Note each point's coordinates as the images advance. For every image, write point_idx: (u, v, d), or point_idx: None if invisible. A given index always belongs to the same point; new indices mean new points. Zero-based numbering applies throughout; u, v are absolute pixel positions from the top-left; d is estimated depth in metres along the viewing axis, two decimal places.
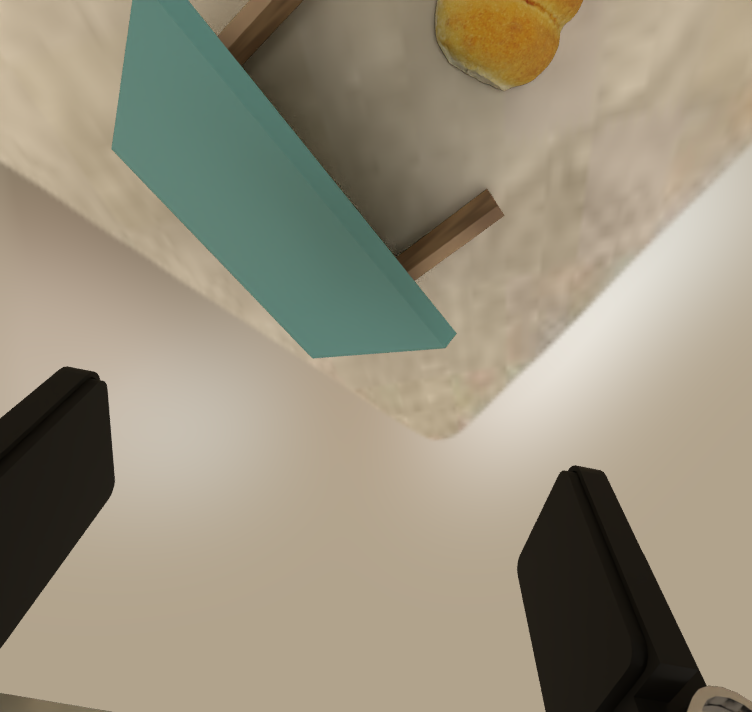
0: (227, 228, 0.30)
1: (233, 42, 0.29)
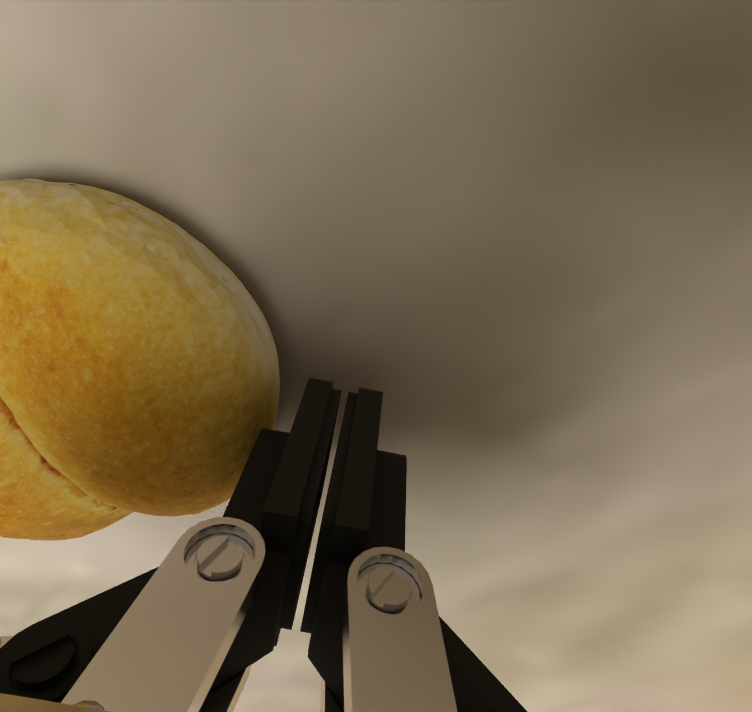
0: None
1: None
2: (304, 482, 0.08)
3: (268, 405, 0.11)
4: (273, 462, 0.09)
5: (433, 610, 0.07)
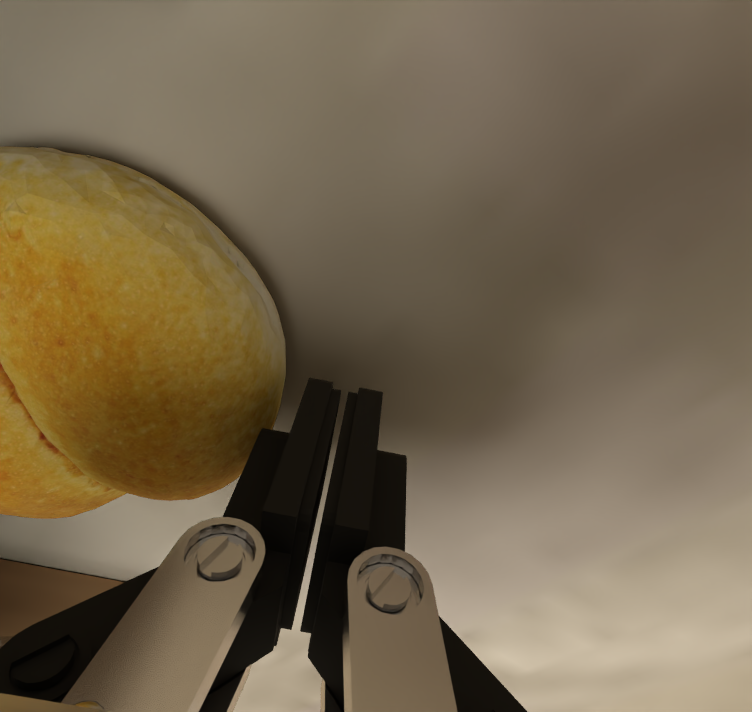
0: None
1: None
2: (304, 482, 0.08)
3: (273, 394, 0.11)
4: (274, 462, 0.09)
5: (433, 610, 0.07)
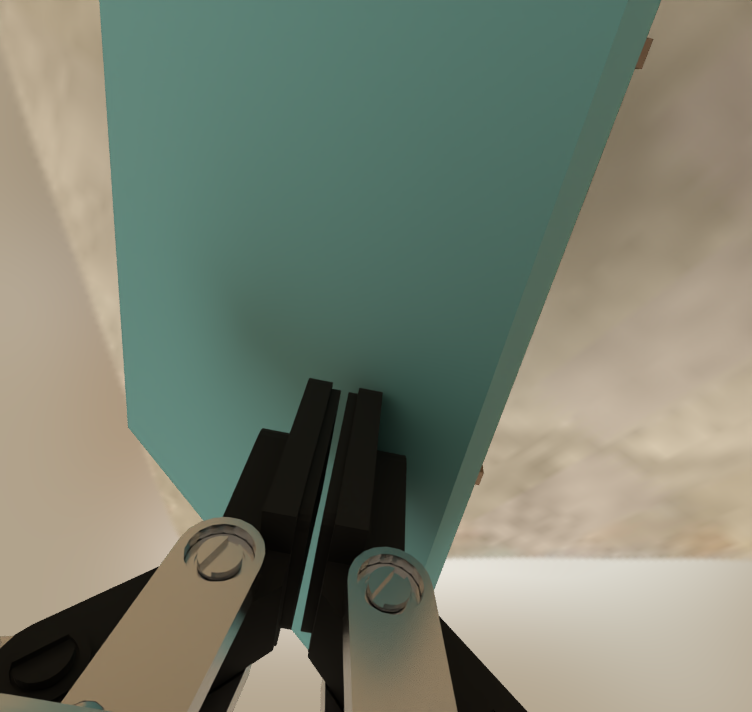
0: (190, 252, 0.15)
1: None
2: (304, 482, 0.08)
3: None
4: (274, 461, 0.09)
5: (433, 610, 0.07)
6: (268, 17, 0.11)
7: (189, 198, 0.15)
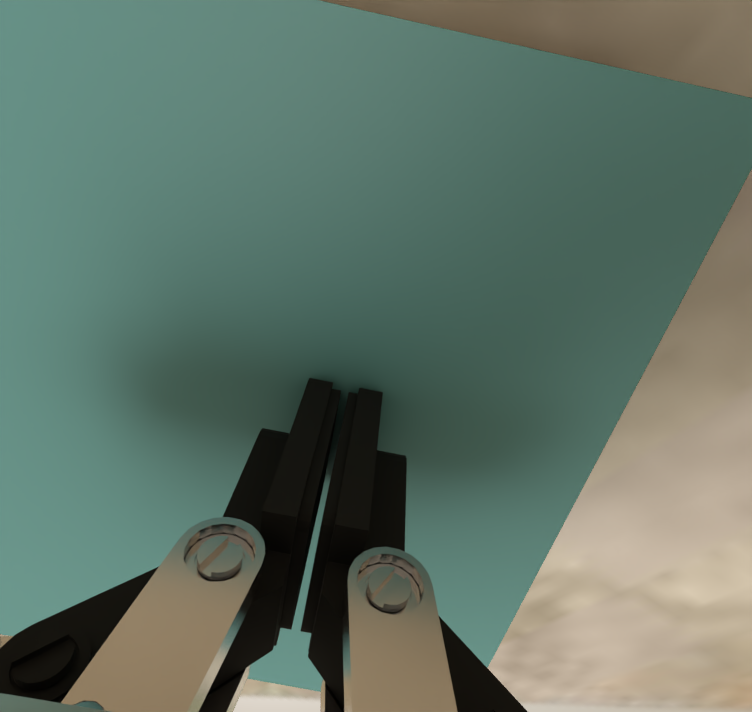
0: (136, 395, 0.12)
1: None
2: (304, 482, 0.08)
3: None
4: (273, 462, 0.09)
5: (433, 610, 0.07)
6: (306, 125, 0.09)
7: (128, 333, 0.11)
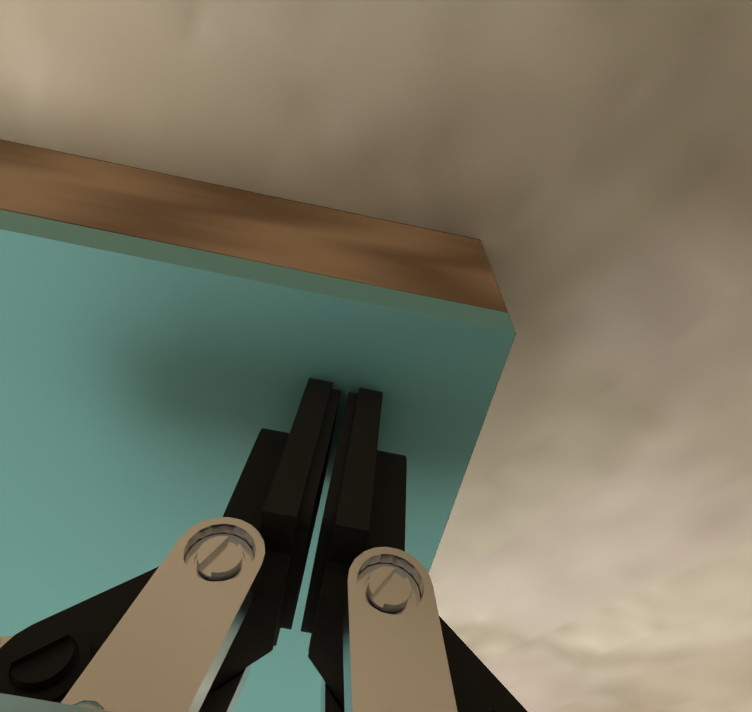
0: (41, 520, 0.14)
1: None
2: (304, 482, 0.08)
3: None
4: (273, 461, 0.09)
5: (433, 610, 0.07)
6: (150, 338, 0.11)
7: (28, 475, 0.13)
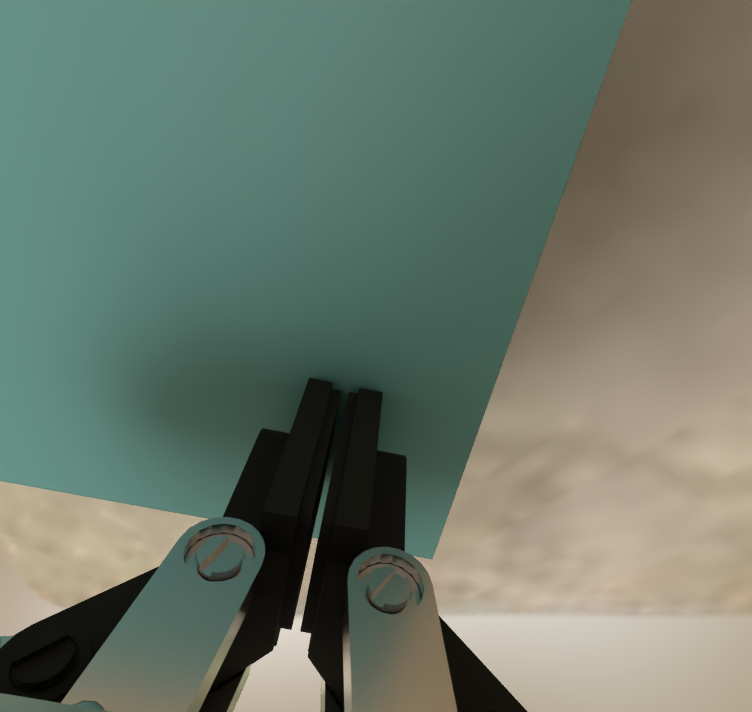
0: None
1: None
2: (304, 482, 0.08)
3: None
4: (274, 461, 0.09)
5: (433, 610, 0.07)
6: None
7: None
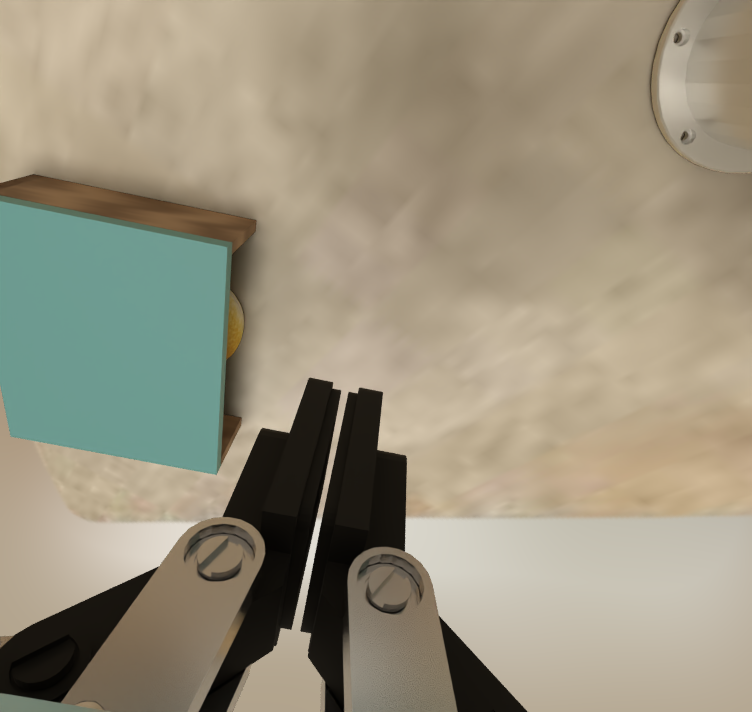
0: (68, 330, 0.35)
1: None
2: (304, 482, 0.08)
3: (240, 330, 0.40)
4: (273, 462, 0.09)
5: (433, 610, 0.07)
6: (108, 250, 0.32)
7: (64, 308, 0.34)
